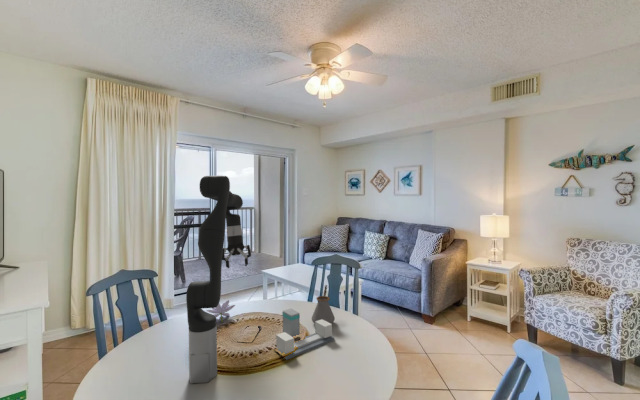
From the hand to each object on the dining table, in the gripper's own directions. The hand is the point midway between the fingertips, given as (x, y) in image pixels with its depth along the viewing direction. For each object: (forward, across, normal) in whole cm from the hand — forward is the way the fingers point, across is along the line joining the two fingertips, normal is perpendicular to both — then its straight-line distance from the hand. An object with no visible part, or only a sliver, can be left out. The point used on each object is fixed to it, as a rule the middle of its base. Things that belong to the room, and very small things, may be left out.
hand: (237, 267), depth 148 cm
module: (+32, +22, -18) cm, 43 cm away
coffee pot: (+32, +41, -4) cm, 52 cm away
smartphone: (+30, +4, -12) cm, 33 cm away
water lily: (+27, -11, +10) cm, 30 cm away
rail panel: (+33, +27, -28) cm, 51 cm away
